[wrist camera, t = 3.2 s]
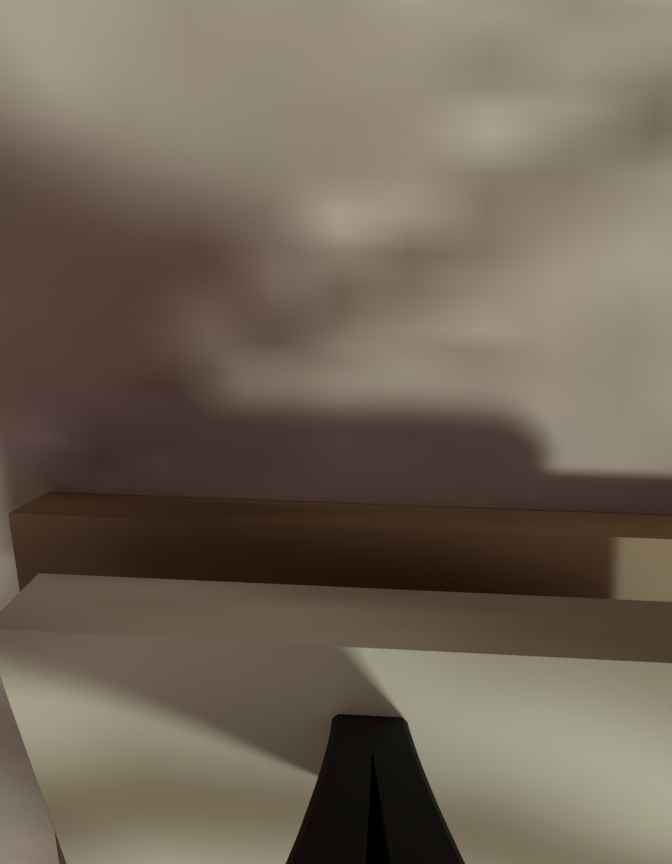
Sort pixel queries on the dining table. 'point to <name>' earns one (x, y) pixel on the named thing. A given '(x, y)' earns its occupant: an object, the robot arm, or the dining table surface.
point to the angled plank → (338, 694)
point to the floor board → (346, 546)
